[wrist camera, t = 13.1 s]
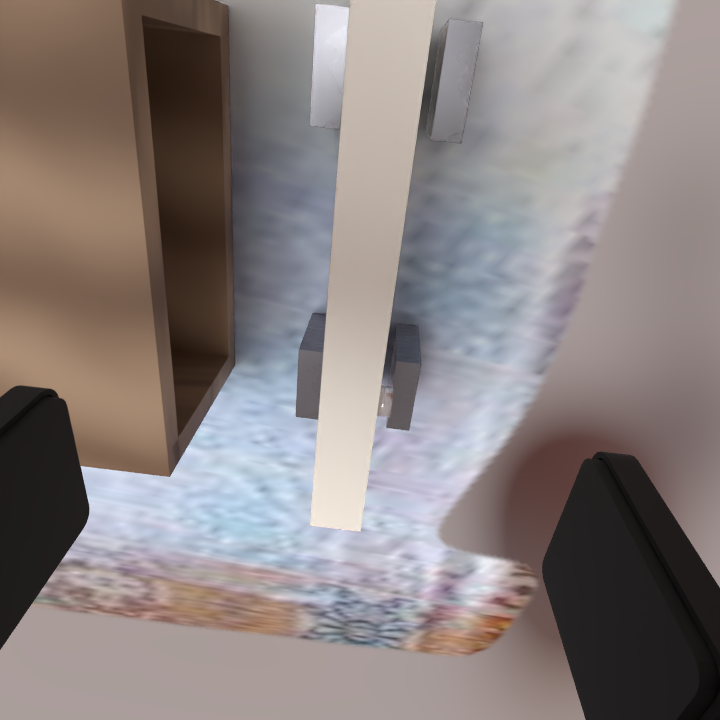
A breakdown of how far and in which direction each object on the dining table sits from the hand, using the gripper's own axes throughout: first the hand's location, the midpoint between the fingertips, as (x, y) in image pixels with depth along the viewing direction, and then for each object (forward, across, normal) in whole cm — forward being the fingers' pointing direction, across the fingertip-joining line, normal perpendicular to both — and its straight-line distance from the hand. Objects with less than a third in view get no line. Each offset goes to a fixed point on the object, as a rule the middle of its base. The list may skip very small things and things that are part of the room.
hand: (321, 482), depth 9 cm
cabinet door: (+19, 0, 0) cm, 19 cm away
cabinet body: (+19, +11, 0) cm, 22 cm away
